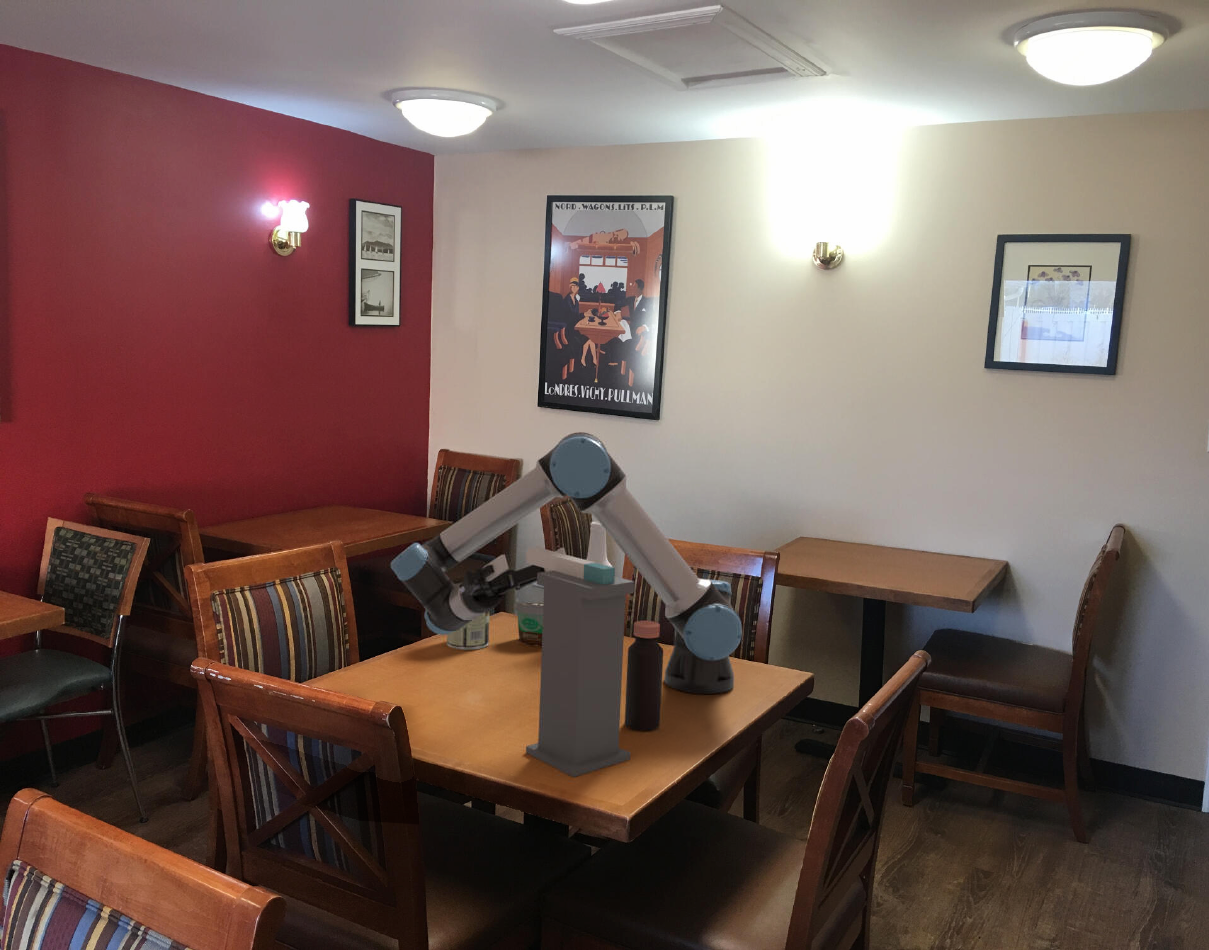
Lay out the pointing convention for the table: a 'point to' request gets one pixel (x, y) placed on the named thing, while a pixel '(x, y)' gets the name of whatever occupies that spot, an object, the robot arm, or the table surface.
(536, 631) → the food container
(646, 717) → the bottle
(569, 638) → the shelf stand
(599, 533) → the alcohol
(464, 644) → the coffee can
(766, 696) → the table surface
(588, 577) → the beige teal square bar
